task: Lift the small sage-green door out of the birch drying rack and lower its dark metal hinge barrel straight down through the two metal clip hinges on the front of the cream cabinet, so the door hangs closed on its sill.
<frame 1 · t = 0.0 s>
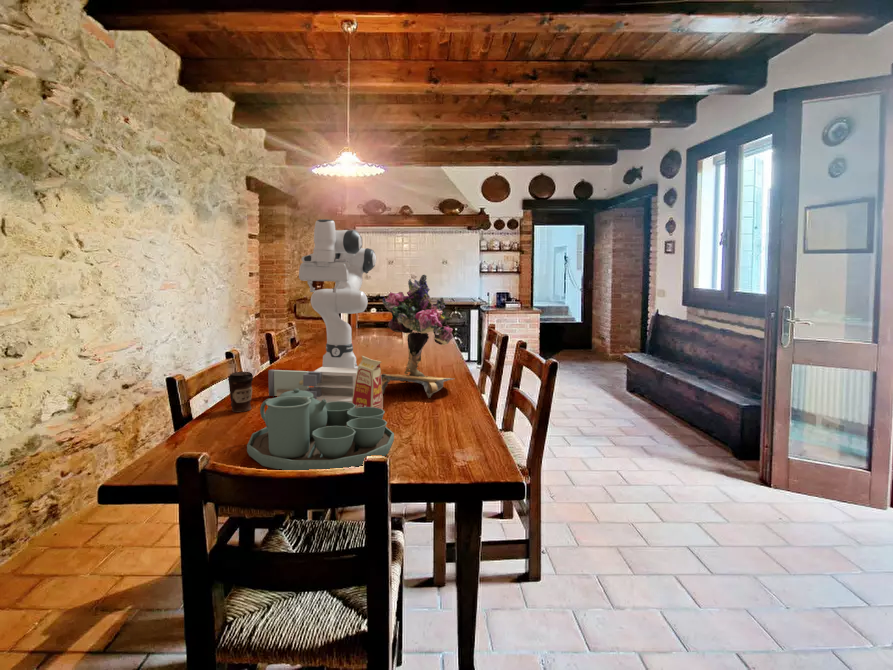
hand: (323, 292, 230), 39 cm above the table, tool pointing down, fingers open, 8 cm apart
tea set: (322, 448, 158), on the table
flower vase arrangement: (415, 390, 229), on the table
cabinet: (338, 398, 213), on the table
milk carton: (368, 413, 193), on the table
door rack: (291, 396, 214), on the table
door: (291, 396, 214), resting in door rack
coffee cup: (241, 410, 194), on the table
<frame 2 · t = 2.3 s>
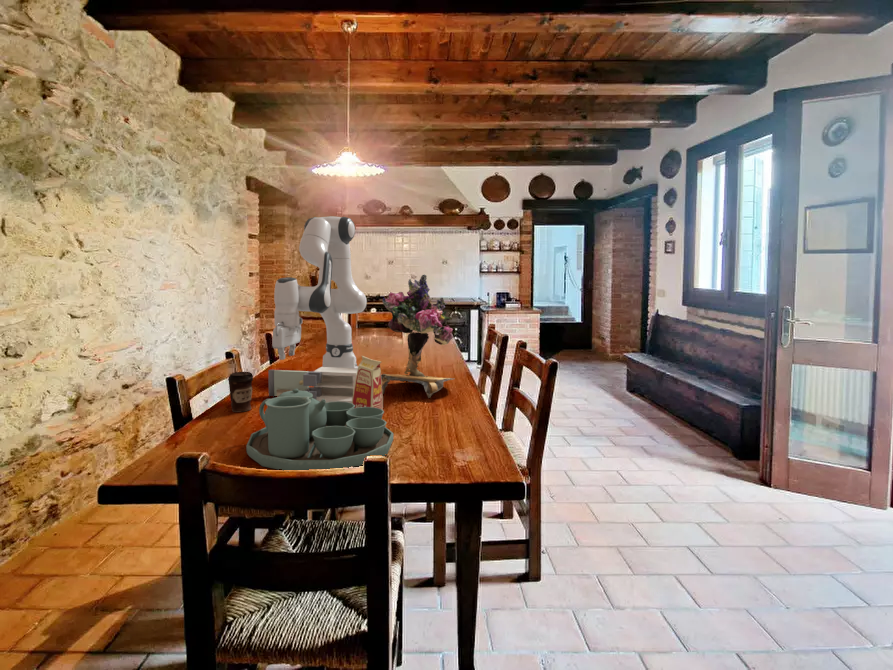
hand: (287, 357, 211), 15 cm above the table, tool pointing down, fingers open, 8 cm apart
nothing on the table moved.
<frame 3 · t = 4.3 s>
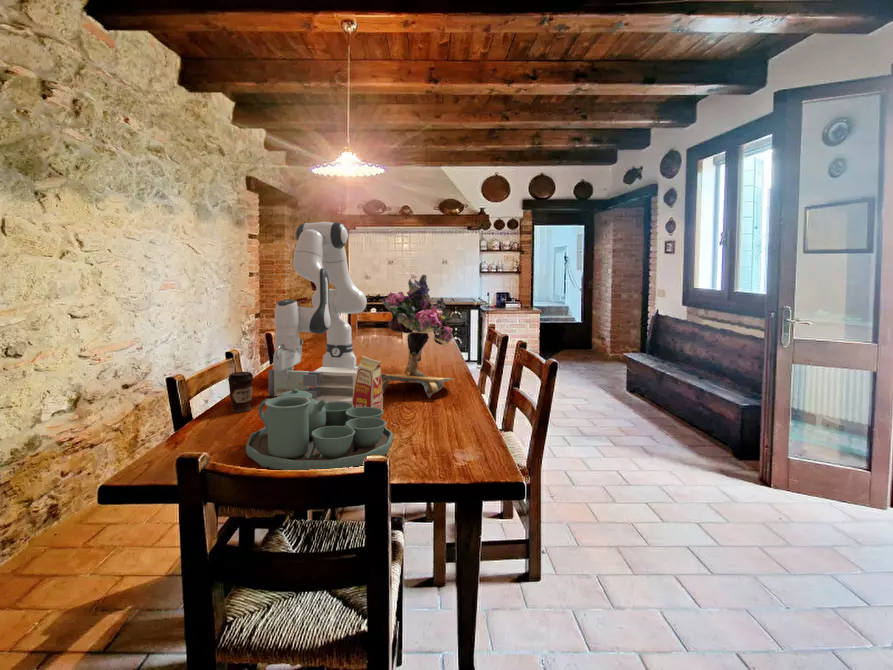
hand: (287, 378, 213), 7 cm above the table, tool pointing down, fingers closed on door, 2 cm apart
door: (291, 396, 214), resting in door rack, touching gripper
everything else where it was.
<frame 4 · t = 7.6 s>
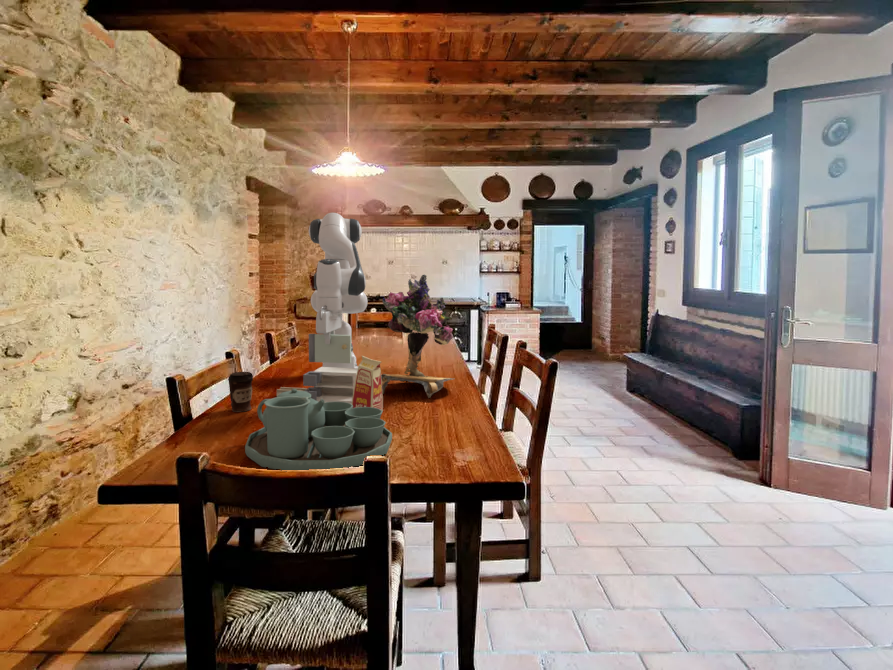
hand: (329, 343, 201), 22 cm above the table, tool pointing down, fingers closed on door
door: (333, 362, 202), point 16 cm above the table, touching gripper
everything else where it was.
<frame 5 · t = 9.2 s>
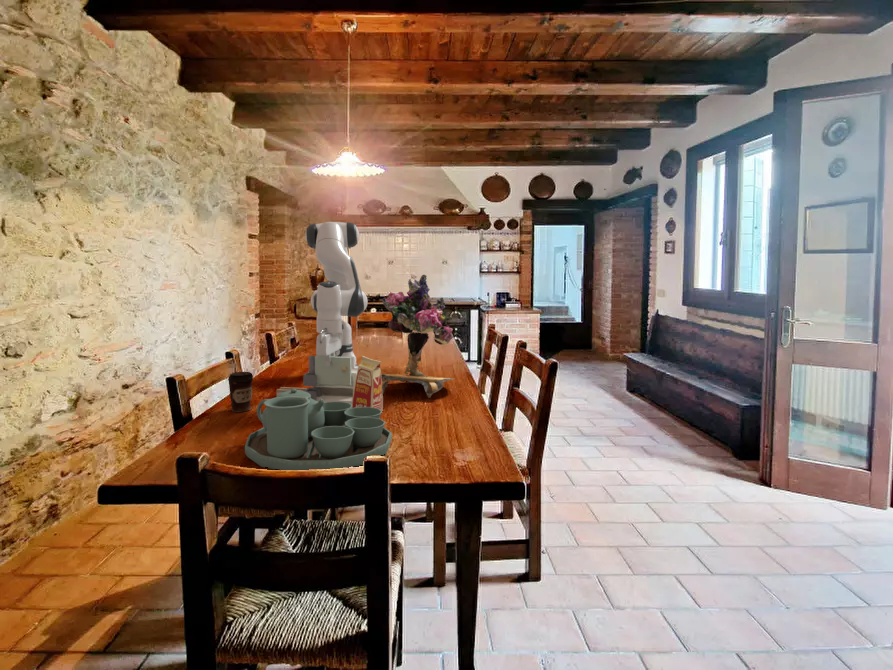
hand: (329, 365, 202), 14 cm above the table, tool pointing down, fingers closed on door
door: (333, 383, 203), point 8 cm above the table, touching gripper
everything else where it was.
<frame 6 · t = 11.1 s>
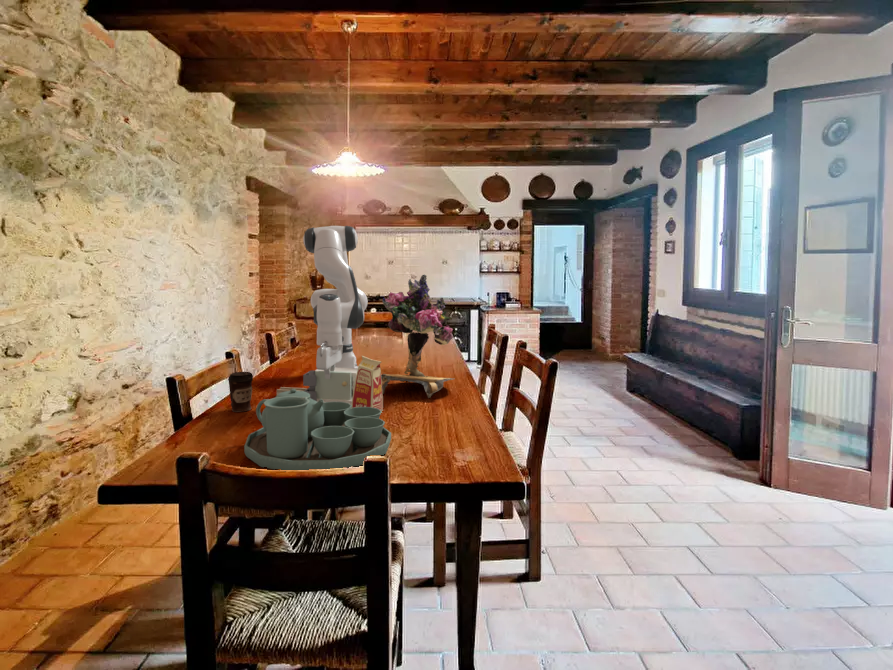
hand: (329, 377, 203), 10 cm above the table, tool pointing down, fingers open, 3 cm apart
door: (333, 398, 204), point 2 cm above the table, touching cabinet
everything else where it was.
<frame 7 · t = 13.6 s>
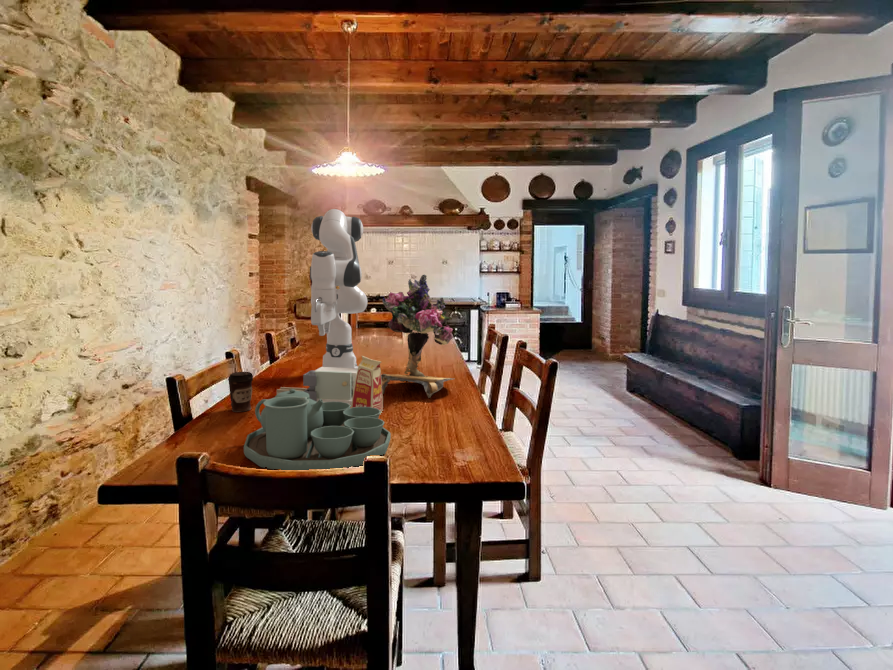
hand: (324, 334, 205), 25 cm above the table, tool pointing down, fingers open, 4 cm apart
nothing on the table moved.
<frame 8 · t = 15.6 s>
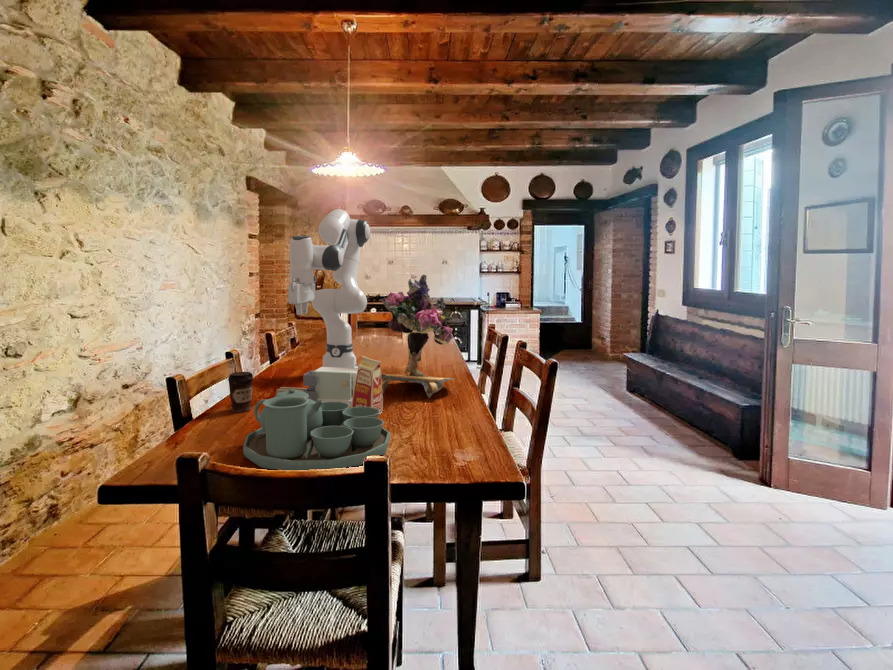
hand: (302, 314, 216), 31 cm above the table, tool pointing down, fingers open, 4 cm apart
at the end: door 0.1 cm from the target spot on the cabinet, point 2.0 cm above the cabinet's base; door tilted 0°; the gripper is holding nothing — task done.
